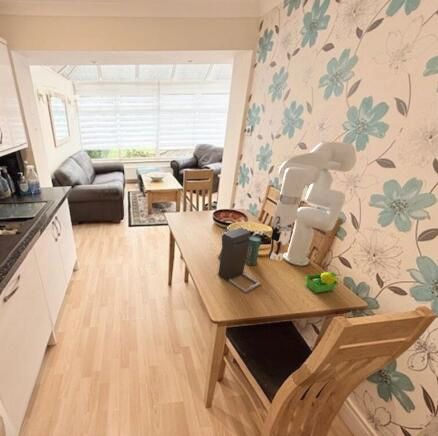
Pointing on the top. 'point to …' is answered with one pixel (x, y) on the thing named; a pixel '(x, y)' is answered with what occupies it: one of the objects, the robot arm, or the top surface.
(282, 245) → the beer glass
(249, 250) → the can
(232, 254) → the coffee maker
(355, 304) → the top surface
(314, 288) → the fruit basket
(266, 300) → the top surface
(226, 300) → the top surface
